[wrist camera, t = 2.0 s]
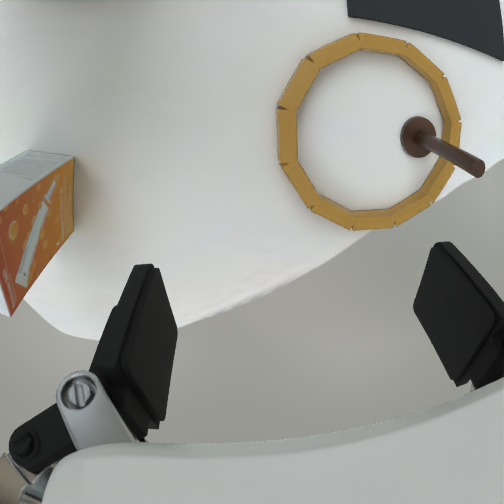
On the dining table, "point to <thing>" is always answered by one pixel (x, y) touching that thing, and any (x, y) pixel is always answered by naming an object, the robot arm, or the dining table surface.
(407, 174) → the dining table surface
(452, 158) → the post
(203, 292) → the dining table surface
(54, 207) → the small box
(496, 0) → the mat
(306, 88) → the ring
